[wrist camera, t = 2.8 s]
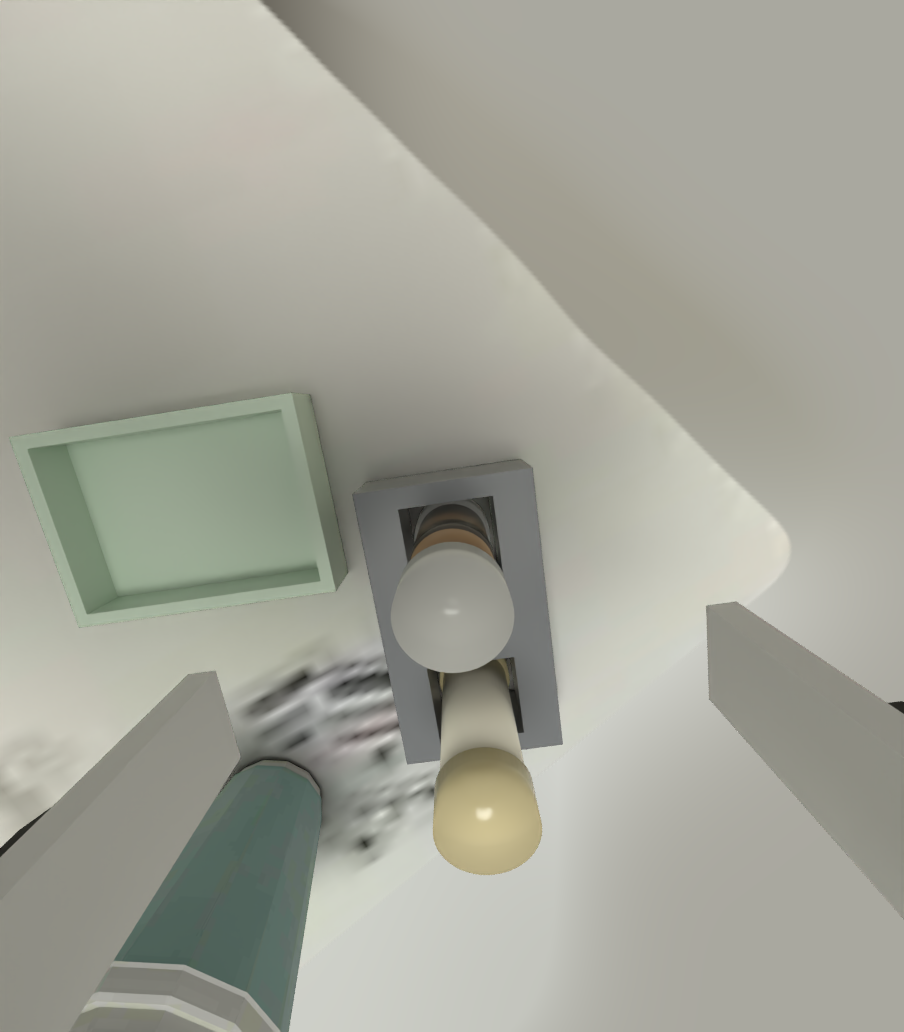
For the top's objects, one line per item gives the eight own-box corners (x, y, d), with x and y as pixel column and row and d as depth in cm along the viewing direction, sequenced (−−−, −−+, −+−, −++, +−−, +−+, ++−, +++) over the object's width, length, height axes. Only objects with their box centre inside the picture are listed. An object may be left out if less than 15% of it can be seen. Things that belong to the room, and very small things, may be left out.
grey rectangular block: (367, 482, 26) (352, 494, 23) (520, 458, 26) (532, 467, 22) (413, 718, 30) (407, 764, 26) (548, 700, 30) (562, 744, 26)
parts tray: (58, 434, 26) (8, 437, 23) (310, 394, 25) (291, 392, 22) (117, 605, 28) (78, 628, 25) (348, 572, 28) (336, 591, 25)
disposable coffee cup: (371, 758, 31) (299, 1072, 16) (329, 877, 33) (234, 1245, 19) (217, 714, 30) (-5, 1003, 15) (185, 839, 32) (-33, 1193, 18)
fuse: (435, 637, 29) (424, 793, 17) (501, 628, 29) (535, 779, 17) (445, 695, 30) (441, 880, 18) (509, 686, 30) (547, 867, 18)
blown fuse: (411, 499, 27) (380, 568, 15) (482, 488, 27) (506, 550, 15) (423, 566, 28) (402, 680, 16) (491, 556, 28) (521, 664, 16)
